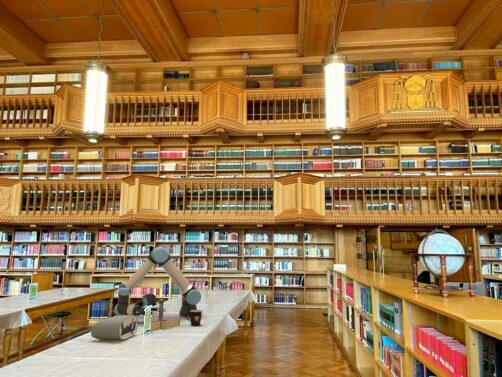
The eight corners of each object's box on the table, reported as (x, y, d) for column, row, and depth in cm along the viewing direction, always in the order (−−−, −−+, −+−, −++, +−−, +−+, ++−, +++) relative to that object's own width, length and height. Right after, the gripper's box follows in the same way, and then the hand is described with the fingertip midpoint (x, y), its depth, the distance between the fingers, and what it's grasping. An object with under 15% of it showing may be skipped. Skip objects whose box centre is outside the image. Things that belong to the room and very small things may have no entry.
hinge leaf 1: (165, 326, 262) (165, 319, 263) (170, 327, 258) (170, 320, 259) (144, 330, 250) (144, 322, 251) (149, 331, 246) (149, 324, 247)
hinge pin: (161, 323, 274) (162, 299, 276) (164, 324, 271) (165, 299, 273) (156, 324, 271) (157, 299, 273) (159, 325, 268) (160, 300, 271)
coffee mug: (202, 324, 272) (203, 309, 274) (200, 326, 264) (200, 312, 266) (187, 323, 274) (187, 309, 275) (183, 326, 265) (184, 311, 267)
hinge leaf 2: (177, 324, 269) (177, 317, 270) (182, 326, 265) (182, 318, 266) (157, 328, 258) (157, 320, 258) (162, 329, 253) (162, 321, 254)
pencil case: (119, 343, 217) (119, 319, 219) (89, 342, 221) (90, 319, 223) (137, 334, 238) (138, 313, 240) (110, 334, 242) (111, 313, 244)
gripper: (143, 312, 288) (168, 314, 283) (125, 318, 264) (152, 320, 259) (143, 302, 289) (169, 303, 284) (125, 307, 265) (153, 309, 260)
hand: (161, 311), depth 272 cm, fingers open, 13 cm apart
